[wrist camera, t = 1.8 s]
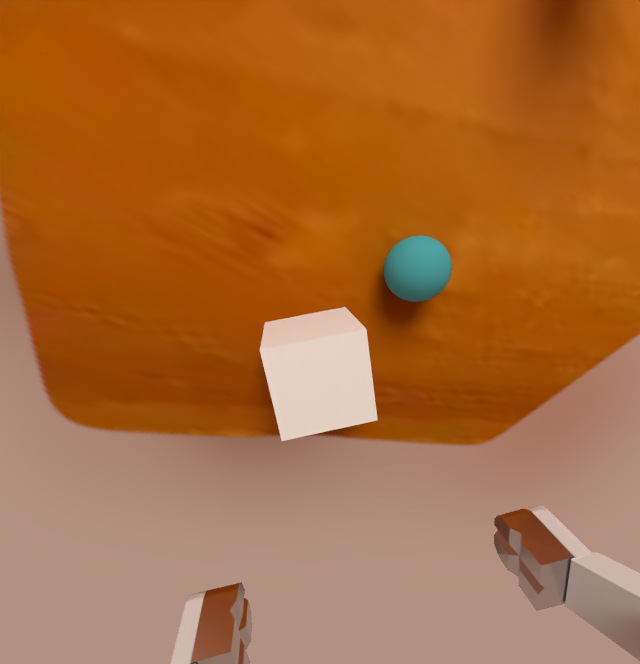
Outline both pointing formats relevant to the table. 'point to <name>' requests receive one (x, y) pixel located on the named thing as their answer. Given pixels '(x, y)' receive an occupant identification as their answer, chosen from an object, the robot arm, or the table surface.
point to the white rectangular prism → (318, 372)
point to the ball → (417, 268)
